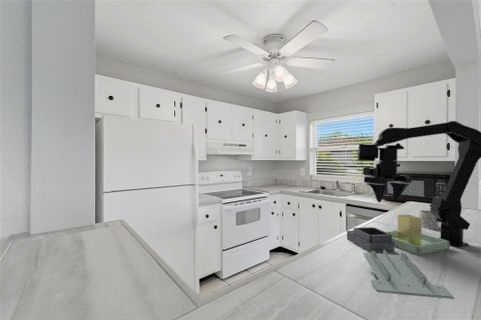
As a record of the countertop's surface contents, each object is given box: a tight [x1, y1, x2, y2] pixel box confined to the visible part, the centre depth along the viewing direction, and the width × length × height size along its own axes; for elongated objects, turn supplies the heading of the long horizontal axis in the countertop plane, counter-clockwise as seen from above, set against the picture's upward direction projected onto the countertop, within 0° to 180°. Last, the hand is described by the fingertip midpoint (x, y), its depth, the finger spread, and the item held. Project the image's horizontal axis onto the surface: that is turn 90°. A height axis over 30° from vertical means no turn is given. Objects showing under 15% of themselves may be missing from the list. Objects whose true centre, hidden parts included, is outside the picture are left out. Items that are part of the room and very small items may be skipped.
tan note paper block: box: [397, 214, 422, 245], centre depth 73 cm, size 4×4×9 cm
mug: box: [418, 209, 440, 230], centre depth 94 cm, size 10×7×7 cm, turn 147°
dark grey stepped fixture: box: [346, 226, 395, 253], centre depth 72 cm, size 8×12×5 cm
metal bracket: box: [362, 250, 454, 300], centre depth 51 cm, size 14×6×15 cm
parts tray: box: [384, 229, 451, 257], centre depth 73 cm, size 16×14×2 cm
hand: (387, 201), depth 82 cm, fingers open, 9 cm apart
